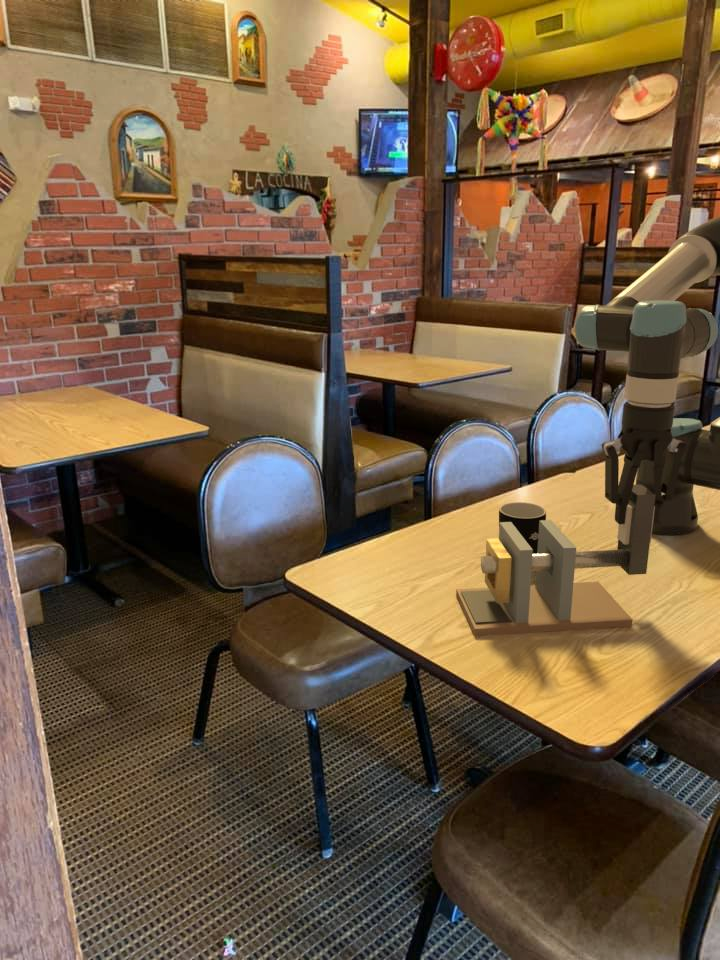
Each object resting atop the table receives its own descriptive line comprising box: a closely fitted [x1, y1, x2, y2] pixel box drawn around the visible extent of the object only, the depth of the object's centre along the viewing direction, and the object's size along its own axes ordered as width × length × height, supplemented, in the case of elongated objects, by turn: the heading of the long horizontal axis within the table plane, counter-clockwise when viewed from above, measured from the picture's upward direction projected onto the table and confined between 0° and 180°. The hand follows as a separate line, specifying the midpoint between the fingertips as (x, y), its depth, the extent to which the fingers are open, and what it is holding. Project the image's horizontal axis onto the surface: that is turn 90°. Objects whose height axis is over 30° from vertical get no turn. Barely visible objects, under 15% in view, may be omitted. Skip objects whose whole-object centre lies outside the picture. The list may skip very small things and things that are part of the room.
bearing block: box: [455, 519, 634, 636], centre depth 121 cm, size 26×14×14 cm, turn 95°
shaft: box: [480, 484, 656, 576], centre depth 119 cm, size 27×5×14 cm, turn 95°
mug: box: [498, 501, 547, 554], centre depth 143 cm, size 12×9×10 cm
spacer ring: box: [484, 537, 511, 603], centre depth 120 cm, size 2×8×8 cm, turn 5°
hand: (633, 540), depth 120 cm, fingers closed on shaft, 3 cm apart
